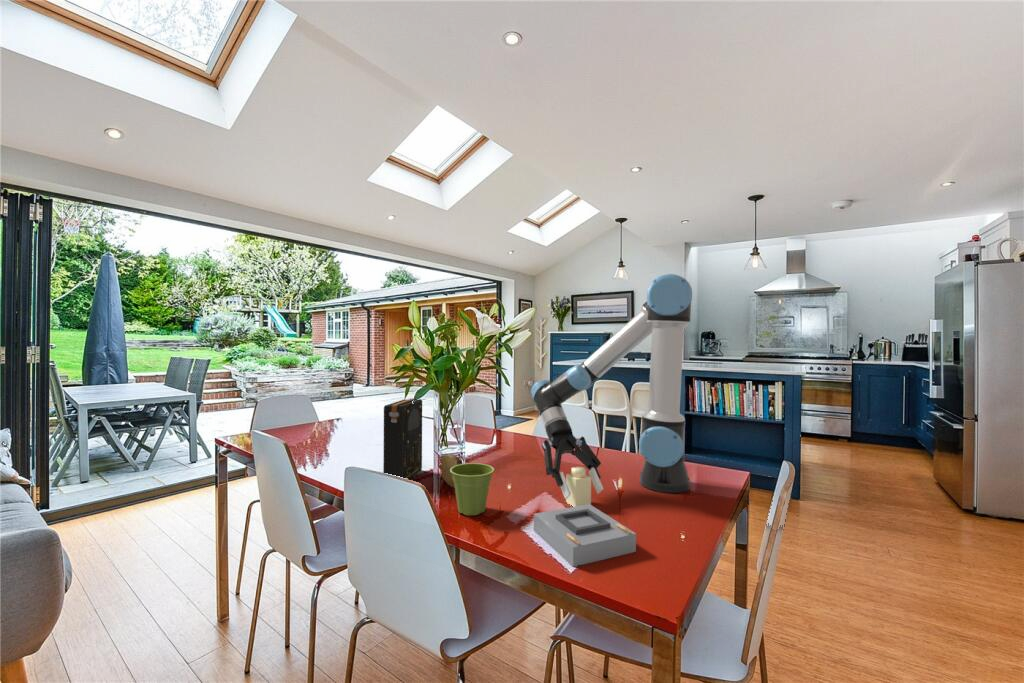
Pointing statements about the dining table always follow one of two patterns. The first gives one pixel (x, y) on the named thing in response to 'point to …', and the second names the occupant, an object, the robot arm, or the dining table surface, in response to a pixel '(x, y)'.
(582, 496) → the dome-topped cream pillar
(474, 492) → the plant pot
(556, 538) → the ball-topped post base
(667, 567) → the dining table surface
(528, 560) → the dining table surface
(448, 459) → the wooden carving
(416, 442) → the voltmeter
